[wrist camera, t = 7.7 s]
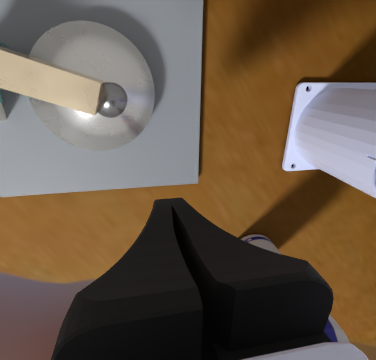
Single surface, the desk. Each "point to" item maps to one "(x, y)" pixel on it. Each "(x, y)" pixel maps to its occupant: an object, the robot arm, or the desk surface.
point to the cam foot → (83, 84)
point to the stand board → (157, 125)
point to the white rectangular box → (2, 109)
